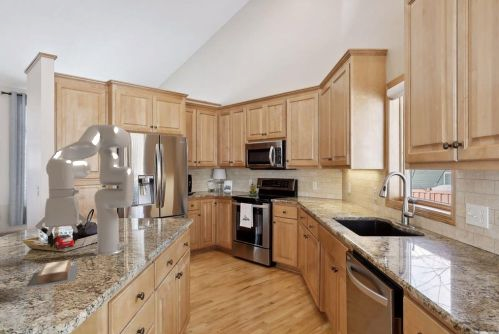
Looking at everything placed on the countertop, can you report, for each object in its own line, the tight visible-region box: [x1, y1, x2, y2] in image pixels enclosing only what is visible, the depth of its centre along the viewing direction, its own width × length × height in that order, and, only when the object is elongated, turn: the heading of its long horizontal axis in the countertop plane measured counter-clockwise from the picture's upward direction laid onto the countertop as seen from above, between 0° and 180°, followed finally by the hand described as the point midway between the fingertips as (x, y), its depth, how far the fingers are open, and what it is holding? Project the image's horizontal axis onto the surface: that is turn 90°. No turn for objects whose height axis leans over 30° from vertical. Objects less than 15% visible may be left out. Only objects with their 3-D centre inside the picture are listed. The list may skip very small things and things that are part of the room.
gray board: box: [27, 264, 79, 289], centre depth 110 cm, size 14×19×1 cm
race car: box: [53, 234, 75, 251], centre depth 101 cm, size 13×5×4 cm, turn 42°
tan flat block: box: [37, 259, 72, 285], centre depth 110 cm, size 9×15×3 cm, turn 28°
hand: (63, 244), depth 101 cm, fingers closed on race car, 6 cm apart
